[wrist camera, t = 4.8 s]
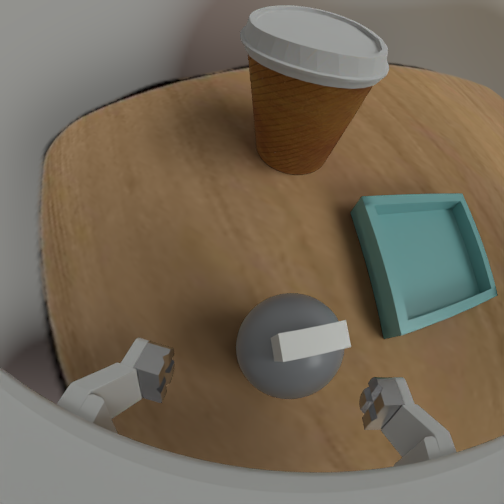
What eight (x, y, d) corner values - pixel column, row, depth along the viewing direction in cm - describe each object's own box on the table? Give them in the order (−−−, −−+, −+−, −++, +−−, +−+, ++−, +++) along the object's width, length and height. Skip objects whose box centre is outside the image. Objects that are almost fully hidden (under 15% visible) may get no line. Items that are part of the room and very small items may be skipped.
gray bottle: (298, 311, 18) (366, 256, 8) (310, 376, 16) (394, 391, 7) (231, 321, 17) (225, 276, 8) (242, 388, 16) (248, 430, 6)
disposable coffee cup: (340, 204, 21) (409, 84, 10) (223, 176, 21) (218, 37, 10) (344, 127, 25) (383, 27, 13) (251, 105, 25) (259, -3, 14)
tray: (448, 205, 22) (462, 193, 20) (480, 302, 19) (497, 295, 16) (350, 212, 21) (361, 196, 19) (383, 338, 17) (401, 335, 15)
